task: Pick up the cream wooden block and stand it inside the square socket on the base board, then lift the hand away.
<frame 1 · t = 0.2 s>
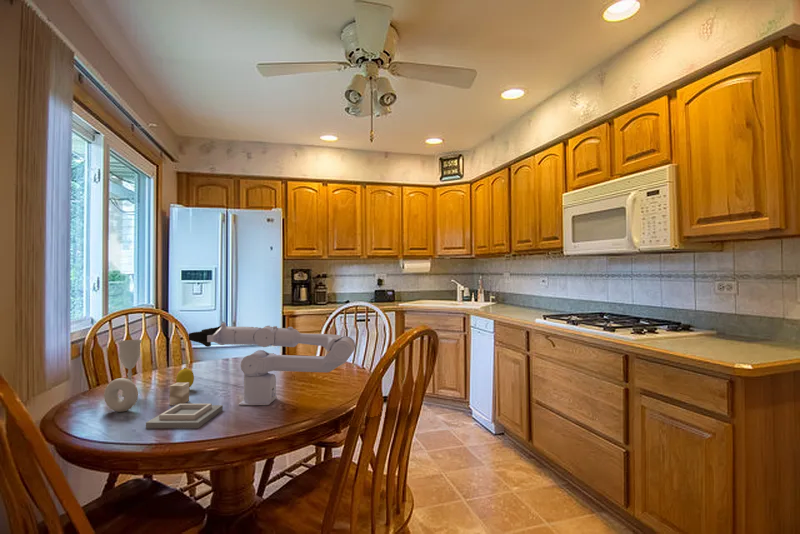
hand: (195, 334, 128), 21 cm above the table, tool horizontal, fingers open, 7 cm apart
block: (179, 403, 127), on the table
base: (186, 418, 113), on the table
chalice: (129, 394, 137), on the table
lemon: (185, 390, 141), on the table
donut: (121, 412, 119), on the table
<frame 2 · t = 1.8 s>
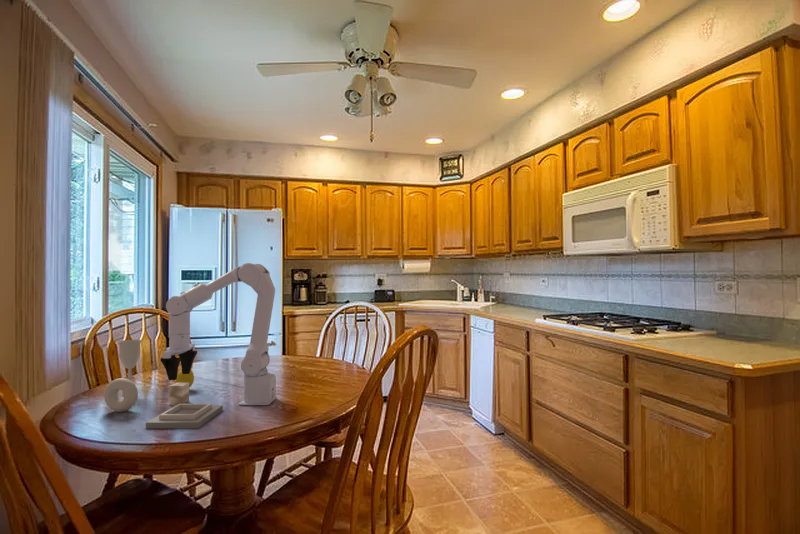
hand: (179, 376, 127), 8 cm above the table, tool pointing down, fingers open, 7 cm apart
nothing on the table moved.
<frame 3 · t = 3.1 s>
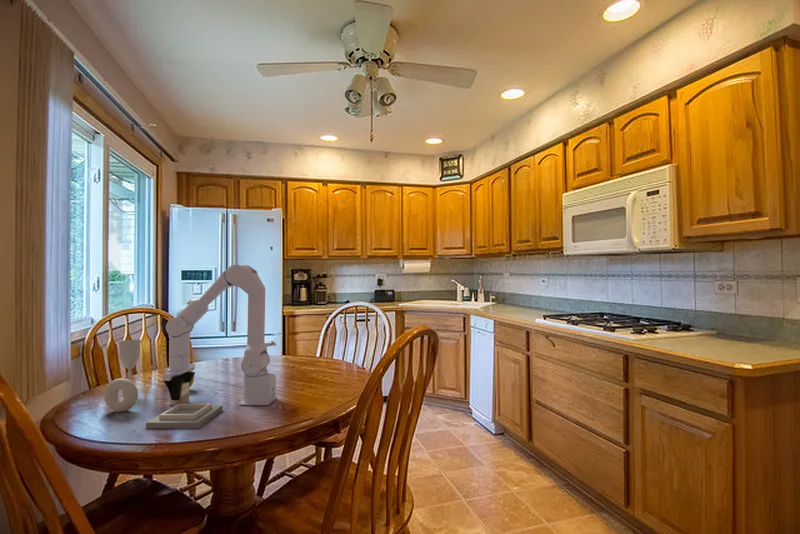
hand: (179, 397, 127), 2 cm above the table, tool pointing down, fingers closed on block, 4 cm apart
block: (179, 403, 127), on the table, touching gripper
everything else where it was.
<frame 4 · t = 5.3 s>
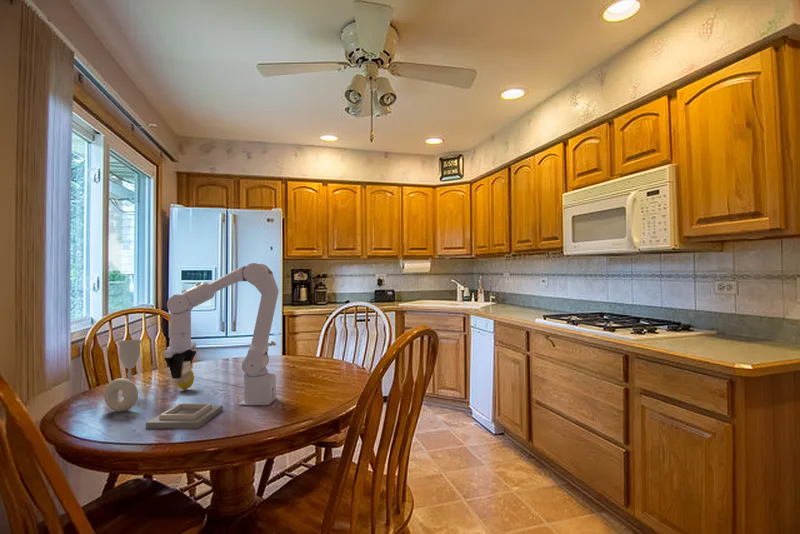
hand: (180, 376, 125), 9 cm above the table, tool pointing down, fingers closed on block, 4 cm apart
block: (180, 381, 125), point 7 cm above the table, touching gripper
everything else where it was.
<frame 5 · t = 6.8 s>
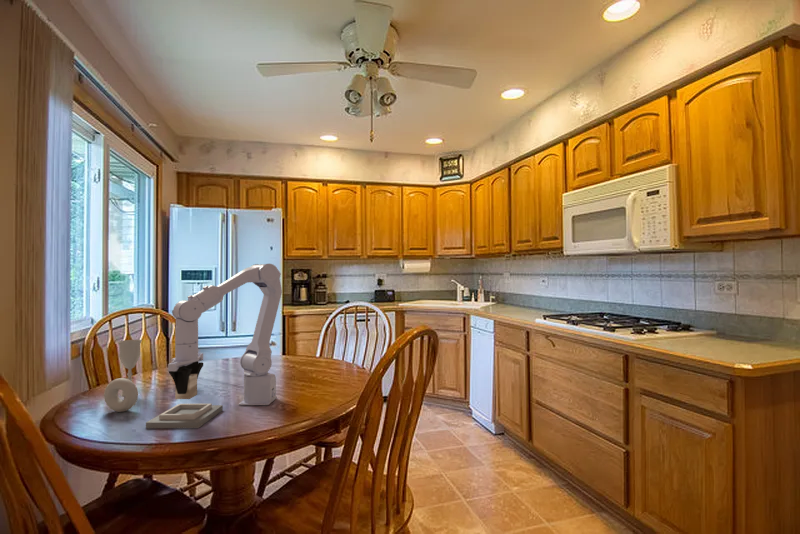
hand: (186, 391, 113), 8 cm above the table, tool pointing down, fingers closed on block, 4 cm apart
block: (186, 396, 113), point 6 cm above the table, touching gripper
everything else where it was.
when the fingers open (4 cm above the table, at t = 7.9 s): block drops 1 cm, resting on base.
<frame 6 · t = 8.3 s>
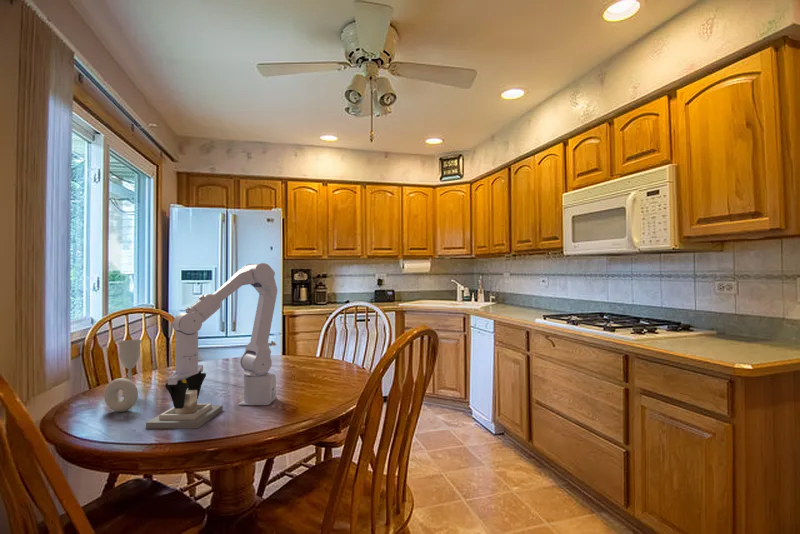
hand: (186, 403, 113), 4 cm above the table, tool pointing down, fingers open, 7 cm apart
block: (186, 413, 113), point 1 cm above the table, touching base
everything else where it was.
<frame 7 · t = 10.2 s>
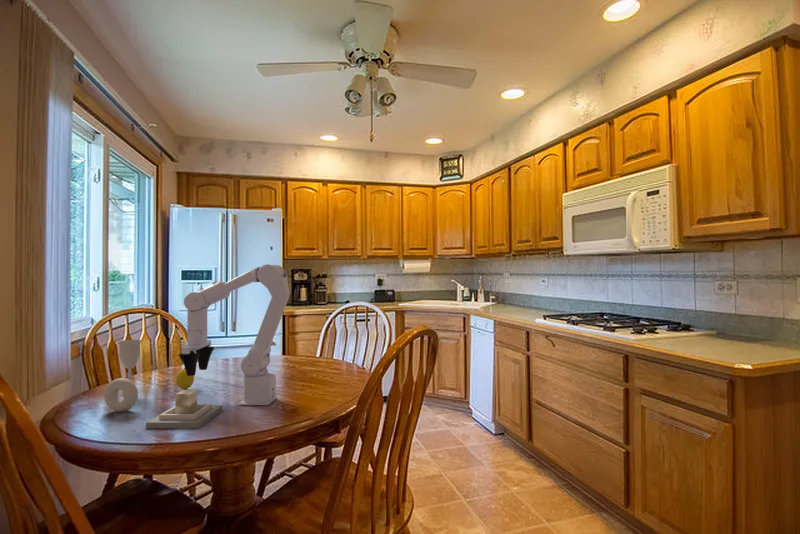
hand: (197, 372, 128), 9 cm above the table, tool pointing down, fingers open, 7 cm apart
nothing on the table moved.
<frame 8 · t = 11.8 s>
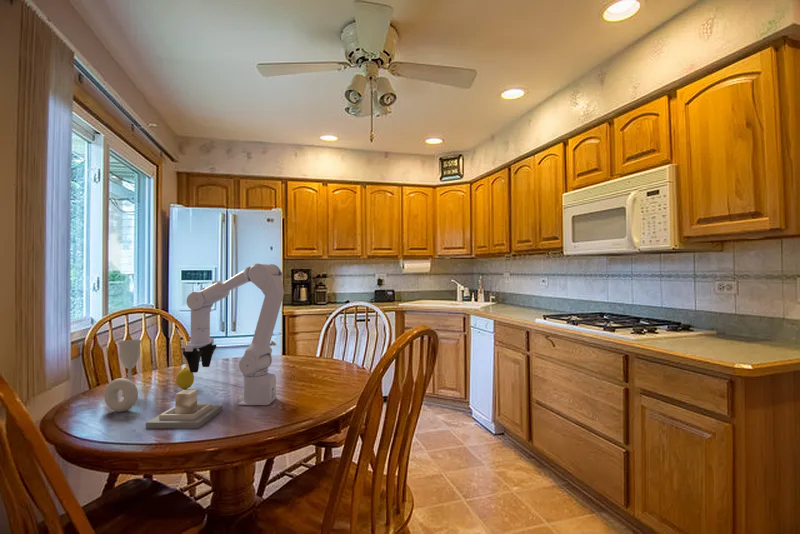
hand: (200, 369, 132), 9 cm above the table, tool pointing down, fingers open, 7 cm apart
nothing on the table moved.
at the end: block 0.0 cm from the base (horizontally); block point 1.5 cm above the table; block tilted 0° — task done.
